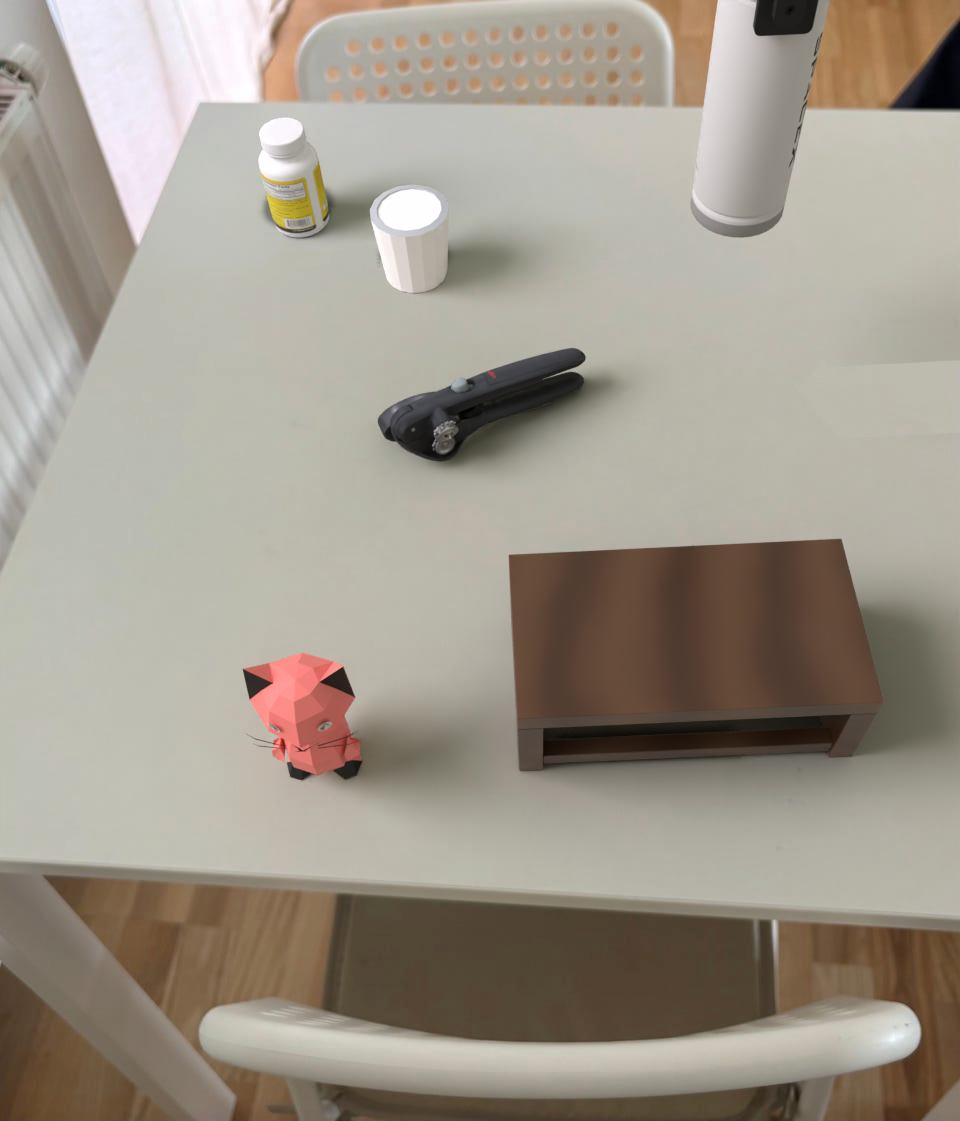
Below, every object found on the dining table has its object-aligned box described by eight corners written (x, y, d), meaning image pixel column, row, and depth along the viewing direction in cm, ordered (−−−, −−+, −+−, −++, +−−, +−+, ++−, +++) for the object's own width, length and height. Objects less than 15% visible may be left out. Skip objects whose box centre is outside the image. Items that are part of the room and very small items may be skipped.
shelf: (816, 601, 79) (841, 538, 73) (852, 756, 73) (883, 702, 66) (511, 616, 80) (508, 554, 73) (519, 771, 73) (516, 718, 66)
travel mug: (669, 196, 77) (704, -108, 60) (753, 170, 78) (810, -136, 61) (713, 251, 73) (763, -54, 57) (800, 223, 74) (874, -85, 58)
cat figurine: (268, 801, 73) (225, 722, 63) (278, 707, 76) (239, 619, 66) (374, 799, 72) (349, 719, 62) (379, 705, 76) (356, 616, 66)
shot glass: (411, 309, 98) (403, 246, 92) (363, 271, 101) (353, 208, 95) (469, 272, 100) (465, 209, 94) (421, 236, 103) (414, 172, 97)
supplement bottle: (304, 194, 107) (285, 104, 99) (341, 218, 105) (325, 128, 97) (262, 222, 105) (238, 132, 97) (298, 247, 103) (278, 157, 95)
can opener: (406, 487, 87) (399, 441, 82) (373, 427, 90) (364, 379, 86) (605, 410, 90) (609, 361, 86) (566, 354, 94) (567, 305, 89)
